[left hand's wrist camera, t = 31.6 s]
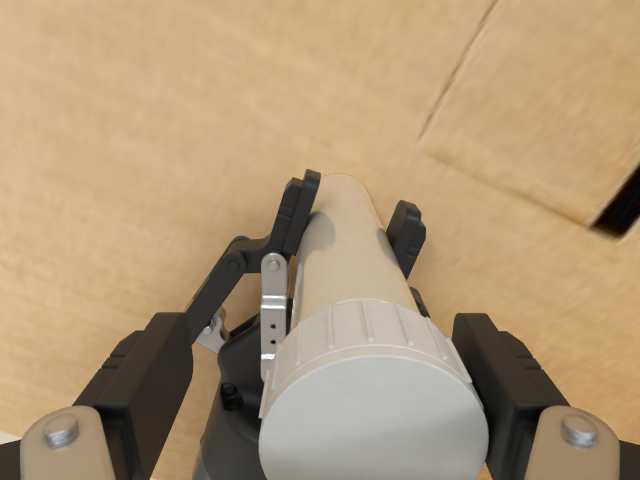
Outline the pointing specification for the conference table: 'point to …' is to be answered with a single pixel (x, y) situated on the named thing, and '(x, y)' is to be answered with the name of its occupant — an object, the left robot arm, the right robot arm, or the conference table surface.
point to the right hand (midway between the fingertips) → (361, 191)
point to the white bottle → (345, 253)
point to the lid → (370, 400)
